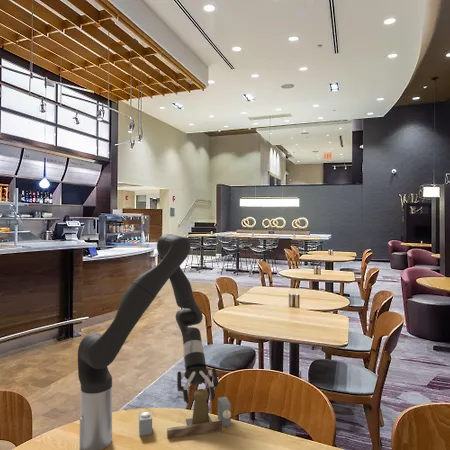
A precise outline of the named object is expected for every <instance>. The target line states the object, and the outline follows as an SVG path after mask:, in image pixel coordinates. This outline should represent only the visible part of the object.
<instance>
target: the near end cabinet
mask: <svg viewBox="0 0 450 450" xmlns="http://www.w3.org/2000/svg"><path fill="white" fill-rule="evenodd" d="M152 415H153V413H152V410H150V411H142V412H138V433H139V434H138V435H139V437H141V436H149V435H153V416H152Z"/></svg>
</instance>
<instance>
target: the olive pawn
mask: <svg viewBox="0 0 450 450" xmlns="http://www.w3.org/2000/svg"><path fill="white" fill-rule="evenodd" d="M192 398H193V401H194V404H193V411H192V425H193V424H200V423H207V422H209V416H210V415H209V408H208V399H209V392H208V390H206V389H205V388H198V389H195V390H194V392H193V394H192Z"/></svg>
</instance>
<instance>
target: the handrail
mask: <svg viewBox="0 0 450 450" xmlns="http://www.w3.org/2000/svg"><path fill="white" fill-rule="evenodd" d="M223 427H224V426H223V423H222V421H219V420H215V421H212V422H207V423H200V424H193V425H187V424H186V425H180V426H174V427H173V426H171V427H167V428H166V439H173V438H175V439H176V438H180V437H186V436H187V437H189V436H194V435H201V434H206V433H214V432H221V431H223Z"/></svg>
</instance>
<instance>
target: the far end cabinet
mask: <svg viewBox="0 0 450 450" xmlns="http://www.w3.org/2000/svg"><path fill="white" fill-rule="evenodd" d="M231 411H232V404H231V402H230V401H229V399H228V397H227V396H221V397H217V418H218V421H222V423H223V427H228V426H229V427H230V426H232V417H231V416H232V412H231Z"/></svg>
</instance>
